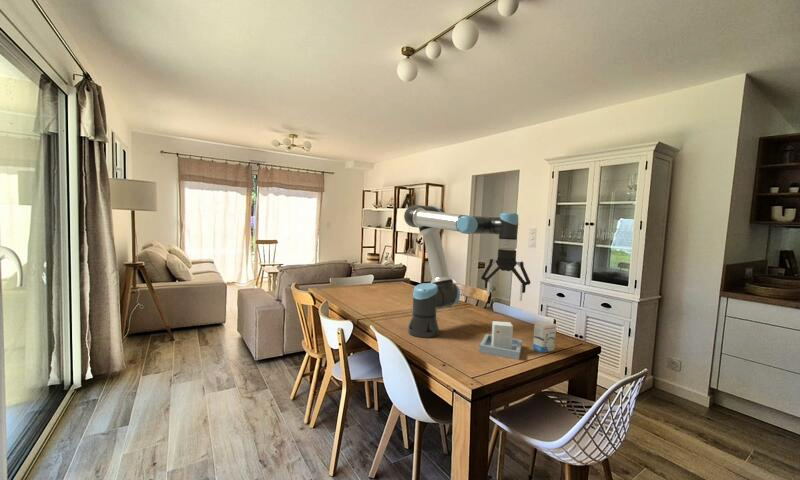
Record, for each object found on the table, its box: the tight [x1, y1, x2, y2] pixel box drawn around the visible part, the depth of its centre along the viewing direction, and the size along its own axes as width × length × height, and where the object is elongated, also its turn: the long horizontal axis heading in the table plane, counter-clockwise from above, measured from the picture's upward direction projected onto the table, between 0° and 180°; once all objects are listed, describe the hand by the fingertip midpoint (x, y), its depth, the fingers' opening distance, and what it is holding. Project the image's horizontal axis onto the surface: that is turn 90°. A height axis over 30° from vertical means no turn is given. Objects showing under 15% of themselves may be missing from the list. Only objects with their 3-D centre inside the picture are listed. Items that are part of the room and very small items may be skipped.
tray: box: [478, 333, 523, 361], centre depth 147 cm, size 16×16×3 cm
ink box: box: [532, 321, 557, 354], centre depth 148 cm, size 9×5×12 cm, turn 117°
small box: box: [491, 320, 514, 350], centre depth 147 cm, size 8×6×10 cm
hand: (504, 298), depth 146 cm, fingers open, 13 cm apart
